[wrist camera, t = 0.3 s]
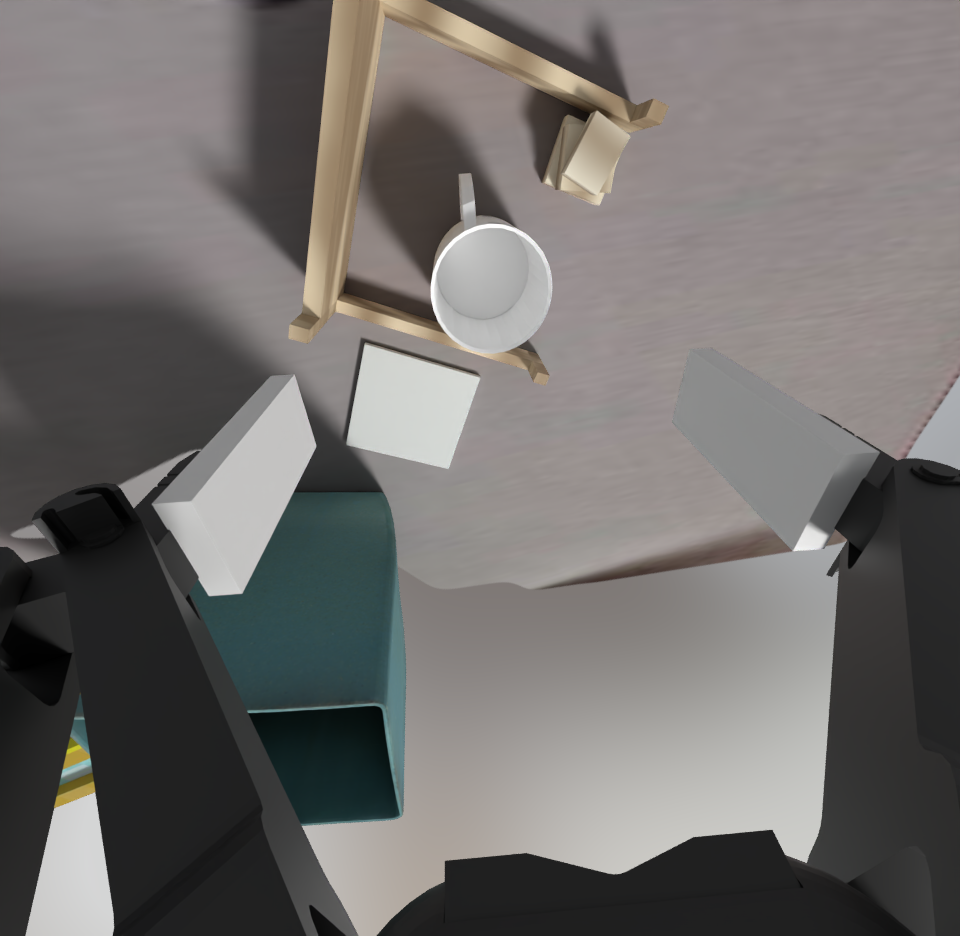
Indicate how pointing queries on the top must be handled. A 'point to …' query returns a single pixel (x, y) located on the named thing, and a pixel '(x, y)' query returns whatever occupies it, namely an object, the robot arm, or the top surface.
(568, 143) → the offcut
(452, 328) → the mug
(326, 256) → the frame
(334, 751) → the flower pot
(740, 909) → the robot arm
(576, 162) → the offcut
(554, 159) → the offcut
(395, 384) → the felt mat
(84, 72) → the top surface
